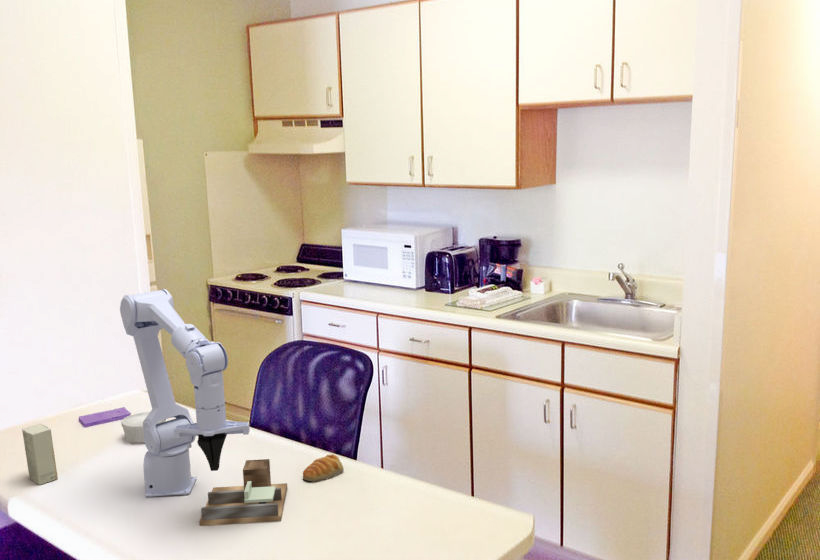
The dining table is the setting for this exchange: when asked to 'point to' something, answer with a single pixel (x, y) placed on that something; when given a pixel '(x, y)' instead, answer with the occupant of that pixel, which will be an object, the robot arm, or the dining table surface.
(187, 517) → the dining table surface
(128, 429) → the ramekin
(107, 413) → the purple flat block
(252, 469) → the brown block
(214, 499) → the board
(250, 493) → the cover
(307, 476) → the pastry
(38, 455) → the skincare box
